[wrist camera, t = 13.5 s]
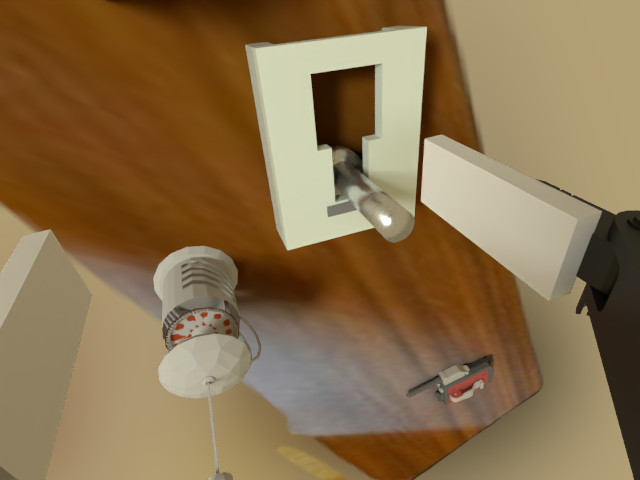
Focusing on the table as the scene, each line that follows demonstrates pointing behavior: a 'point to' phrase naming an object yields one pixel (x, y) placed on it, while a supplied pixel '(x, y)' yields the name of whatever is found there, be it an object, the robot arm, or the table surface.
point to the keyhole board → (316, 161)
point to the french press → (201, 327)
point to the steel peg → (369, 196)
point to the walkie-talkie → (459, 381)
